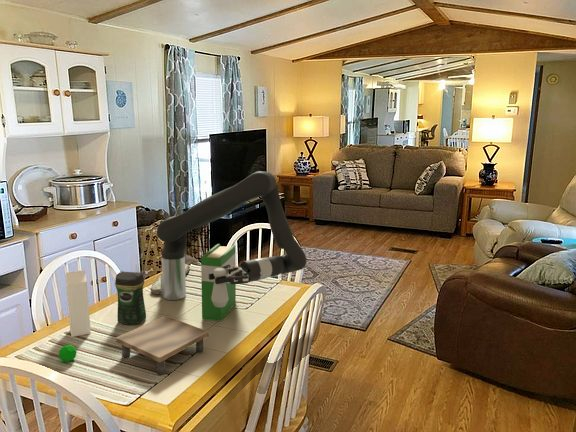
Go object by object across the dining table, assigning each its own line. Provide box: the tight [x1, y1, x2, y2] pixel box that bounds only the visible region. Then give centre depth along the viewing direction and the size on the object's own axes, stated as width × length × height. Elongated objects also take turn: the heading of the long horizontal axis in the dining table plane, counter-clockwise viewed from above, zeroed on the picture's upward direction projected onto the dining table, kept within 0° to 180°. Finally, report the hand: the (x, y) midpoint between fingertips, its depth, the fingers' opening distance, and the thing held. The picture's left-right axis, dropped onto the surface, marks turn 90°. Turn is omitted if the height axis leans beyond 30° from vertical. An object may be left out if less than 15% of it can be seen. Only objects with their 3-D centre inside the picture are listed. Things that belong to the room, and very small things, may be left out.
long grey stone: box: [150, 263, 191, 295], centre depth 211 cm, size 35×5×10 cm
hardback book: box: [200, 243, 237, 322], centre depth 179 cm, size 18×7×24 cm, turn 169°
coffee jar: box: [114, 270, 147, 326], centre depth 169 cm, size 10×8×19 cm
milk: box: [65, 269, 92, 338], centre depth 159 cm, size 6×6×22 cm
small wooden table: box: [115, 315, 209, 376], centre depth 148 cm, size 20×20×6 cm
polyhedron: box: [58, 344, 77, 363], centre depth 143 cm, size 5×5×5 cm
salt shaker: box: [211, 268, 229, 308], centre depth 158 cm, size 6×6×13 cm
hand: (212, 278), depth 156 cm, fingers closed on salt shaker, 4 cm apart
